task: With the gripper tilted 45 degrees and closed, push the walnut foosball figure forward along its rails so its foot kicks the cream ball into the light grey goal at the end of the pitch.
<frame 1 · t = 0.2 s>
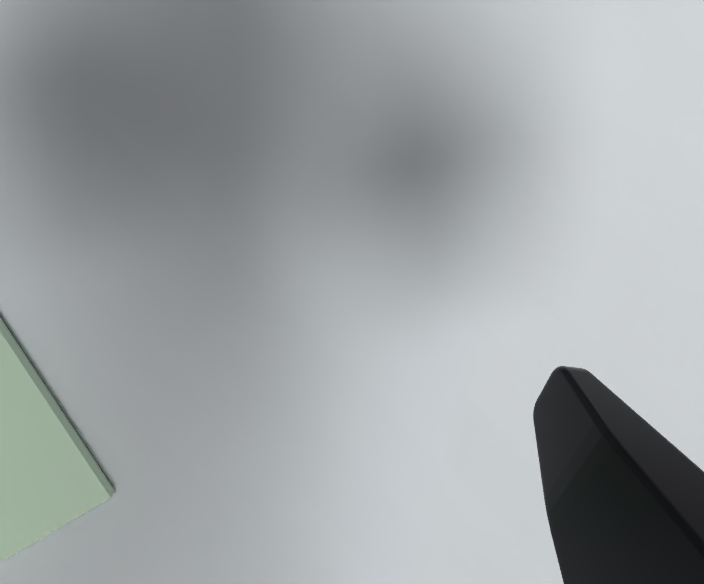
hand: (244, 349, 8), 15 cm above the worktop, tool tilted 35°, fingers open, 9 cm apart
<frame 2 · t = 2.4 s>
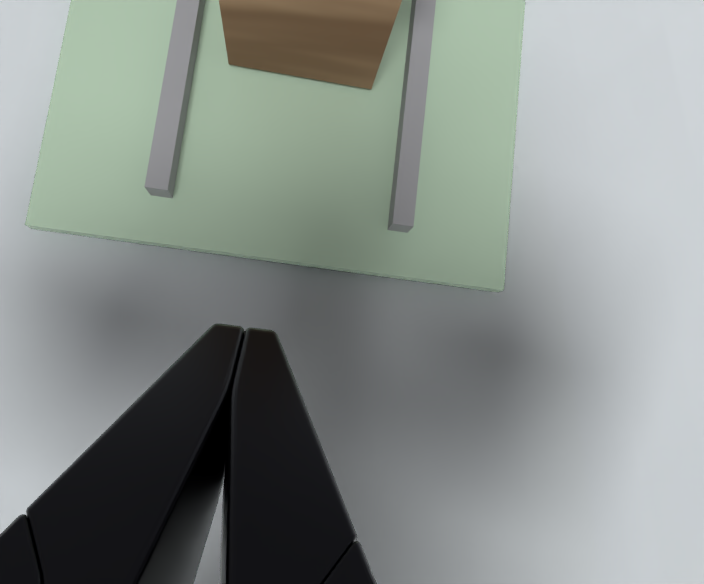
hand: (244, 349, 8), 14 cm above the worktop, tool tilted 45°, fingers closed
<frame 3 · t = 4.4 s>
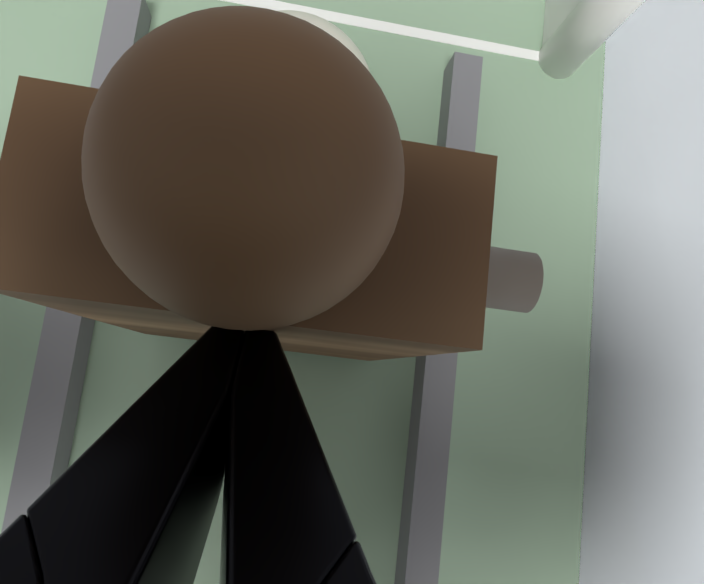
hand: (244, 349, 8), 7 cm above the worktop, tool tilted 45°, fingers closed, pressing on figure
ball: (291, 104, 13), point 3 cm above the worktop, touching pitch
pitch: (282, 188, 16), on the worktop
figure: (264, 239, 9), point 6 cm above the worktop, slide at 0.0 cm, touching gripper
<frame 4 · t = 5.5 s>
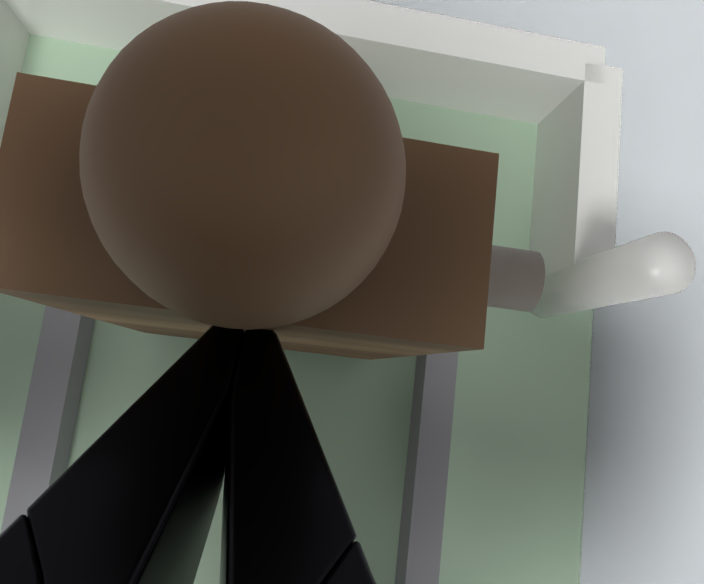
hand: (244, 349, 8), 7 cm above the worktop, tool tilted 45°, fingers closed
goal: (285, 166, 16), resting on pitch
pitch: (246, 451, 15), on the worktop
figure: (264, 237, 9), point 6 cm above the worktop, slide at 7.2 cm
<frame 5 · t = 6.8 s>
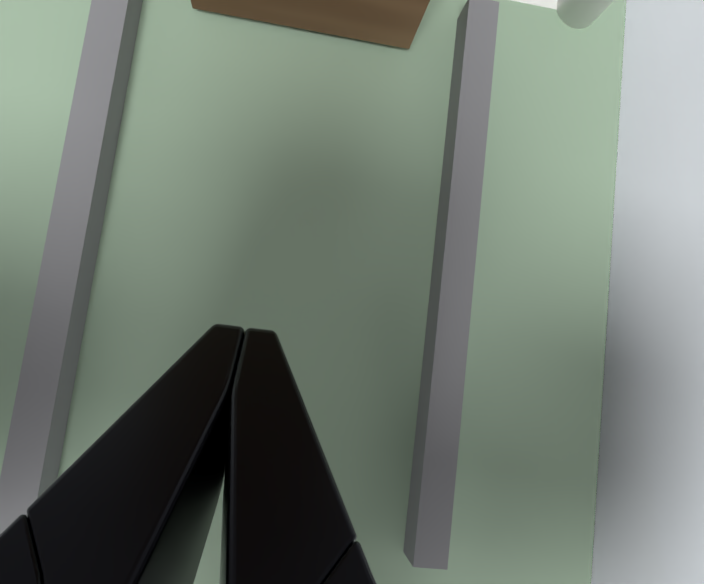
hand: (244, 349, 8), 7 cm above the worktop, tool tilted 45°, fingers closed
pitch: (288, 141, 15), on the worktop
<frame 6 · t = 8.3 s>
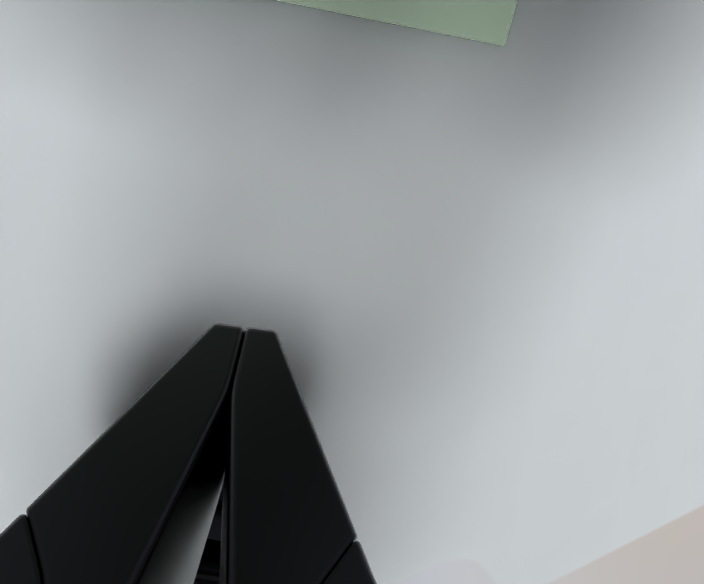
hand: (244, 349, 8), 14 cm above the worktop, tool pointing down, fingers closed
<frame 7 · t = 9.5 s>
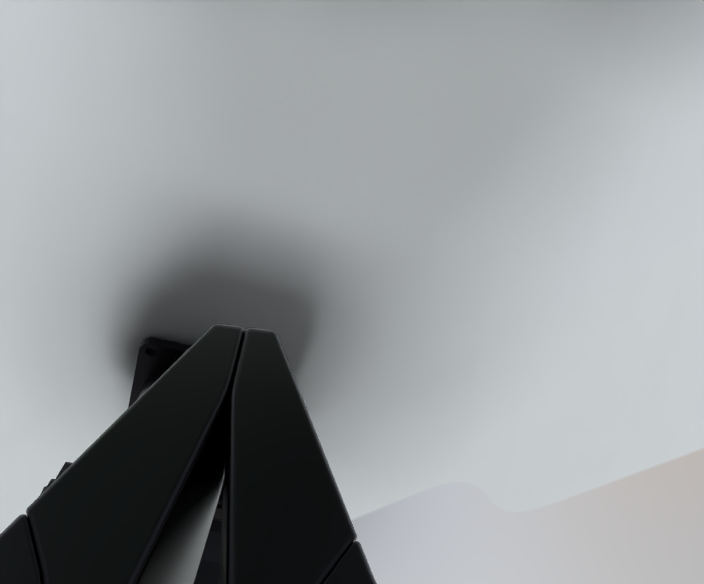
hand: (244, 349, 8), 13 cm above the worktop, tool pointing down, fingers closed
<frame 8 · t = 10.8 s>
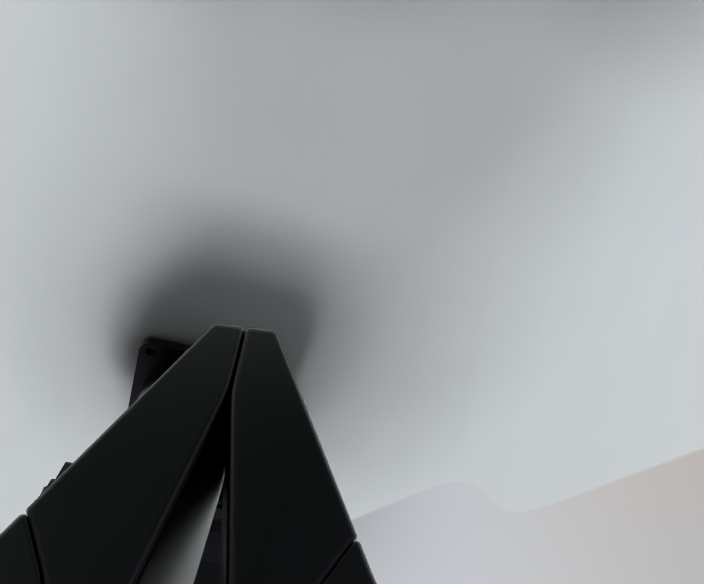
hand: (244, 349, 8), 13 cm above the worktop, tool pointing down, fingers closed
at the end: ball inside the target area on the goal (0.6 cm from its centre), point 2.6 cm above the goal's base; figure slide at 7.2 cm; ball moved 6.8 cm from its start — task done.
